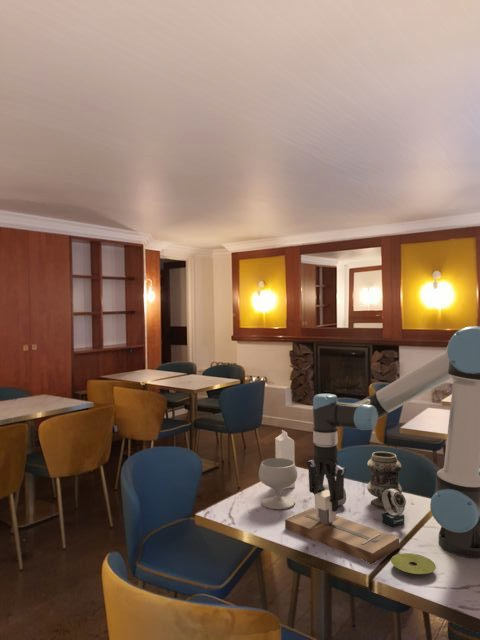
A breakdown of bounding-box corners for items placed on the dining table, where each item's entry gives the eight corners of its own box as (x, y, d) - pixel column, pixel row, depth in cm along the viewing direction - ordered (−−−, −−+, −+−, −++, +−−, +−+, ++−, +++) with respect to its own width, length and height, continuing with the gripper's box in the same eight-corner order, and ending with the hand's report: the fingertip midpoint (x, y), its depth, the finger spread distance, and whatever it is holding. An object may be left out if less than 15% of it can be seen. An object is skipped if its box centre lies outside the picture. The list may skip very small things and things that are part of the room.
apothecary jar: (399, 499, 183) (399, 450, 183) (404, 511, 171) (404, 459, 171) (366, 497, 185) (365, 449, 185) (368, 509, 173) (368, 458, 173)
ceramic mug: (347, 508, 175) (347, 486, 175) (326, 510, 173) (326, 488, 173) (334, 498, 185) (334, 477, 185) (314, 500, 183) (313, 479, 183)
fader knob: (337, 521, 155) (337, 492, 155) (325, 526, 151) (325, 497, 151) (327, 517, 158) (326, 489, 158) (315, 523, 154) (314, 494, 154)
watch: (396, 530, 156) (396, 495, 156) (378, 521, 163) (377, 487, 163) (409, 526, 159) (408, 492, 159) (390, 517, 166) (390, 484, 166)
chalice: (251, 506, 177) (251, 464, 177) (271, 494, 189) (270, 455, 189) (286, 514, 170) (285, 470, 170) (304, 501, 181) (303, 460, 181)
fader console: (399, 547, 144) (399, 536, 144) (372, 564, 135) (372, 552, 135) (312, 516, 168) (312, 506, 168) (285, 528, 158) (285, 518, 158)
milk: (280, 489, 195) (279, 433, 195) (275, 484, 201) (274, 430, 200) (295, 487, 196) (294, 432, 196) (289, 482, 202) (288, 429, 202)
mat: (384, 560, 137) (384, 553, 137) (423, 558, 138) (423, 551, 138) (401, 582, 125) (401, 574, 125) (443, 579, 126) (443, 572, 126)
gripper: (355, 446, 151) (356, 523, 151) (311, 437, 164) (312, 508, 164) (341, 451, 146) (341, 530, 146) (296, 441, 158) (297, 514, 159)
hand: (326, 518), depth 155 cm, fingers closed on fader knob, 4 cm apart
